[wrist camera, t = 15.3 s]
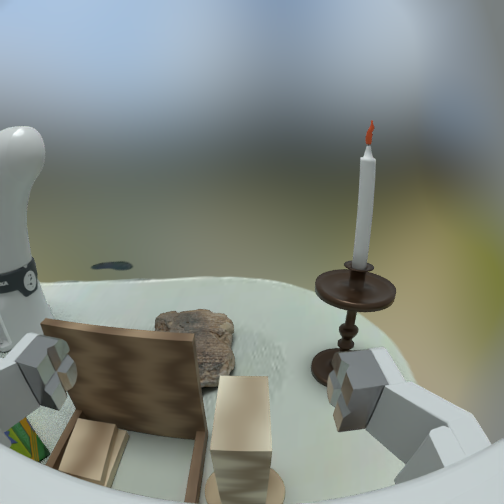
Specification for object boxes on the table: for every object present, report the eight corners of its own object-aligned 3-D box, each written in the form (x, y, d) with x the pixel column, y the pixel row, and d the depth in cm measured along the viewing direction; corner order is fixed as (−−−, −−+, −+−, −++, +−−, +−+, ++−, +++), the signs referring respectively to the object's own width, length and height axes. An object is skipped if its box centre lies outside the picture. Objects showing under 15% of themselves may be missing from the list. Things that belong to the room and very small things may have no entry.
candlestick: (385, 385, 36) (431, 125, 26) (316, 399, 35) (346, 108, 24) (357, 345, 47) (383, 129, 36) (297, 353, 46) (311, 119, 35)
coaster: (201, 520, 18) (201, 519, 18) (209, 461, 26) (208, 459, 26) (287, 522, 18) (287, 521, 18) (282, 462, 26) (282, 460, 26)
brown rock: (245, 397, 37) (231, 320, 55) (244, 372, 35) (229, 298, 54) (144, 402, 35) (158, 325, 53) (135, 377, 33) (154, 303, 52)
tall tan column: (224, 518, 19) (210, 449, 14) (228, 464, 25) (219, 375, 21) (263, 518, 19) (272, 451, 14) (262, 465, 25) (268, 376, 21)
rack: (43, 494, 16) (-34, 402, 11) (84, 412, 30) (45, 318, 25) (194, 539, 16) (153, 477, 11) (208, 433, 30) (194, 333, 25)
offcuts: (58, 483, 18) (49, 473, 18) (86, 426, 28) (80, 414, 27) (106, 501, 18) (97, 492, 18) (129, 436, 28) (123, 424, 27)
